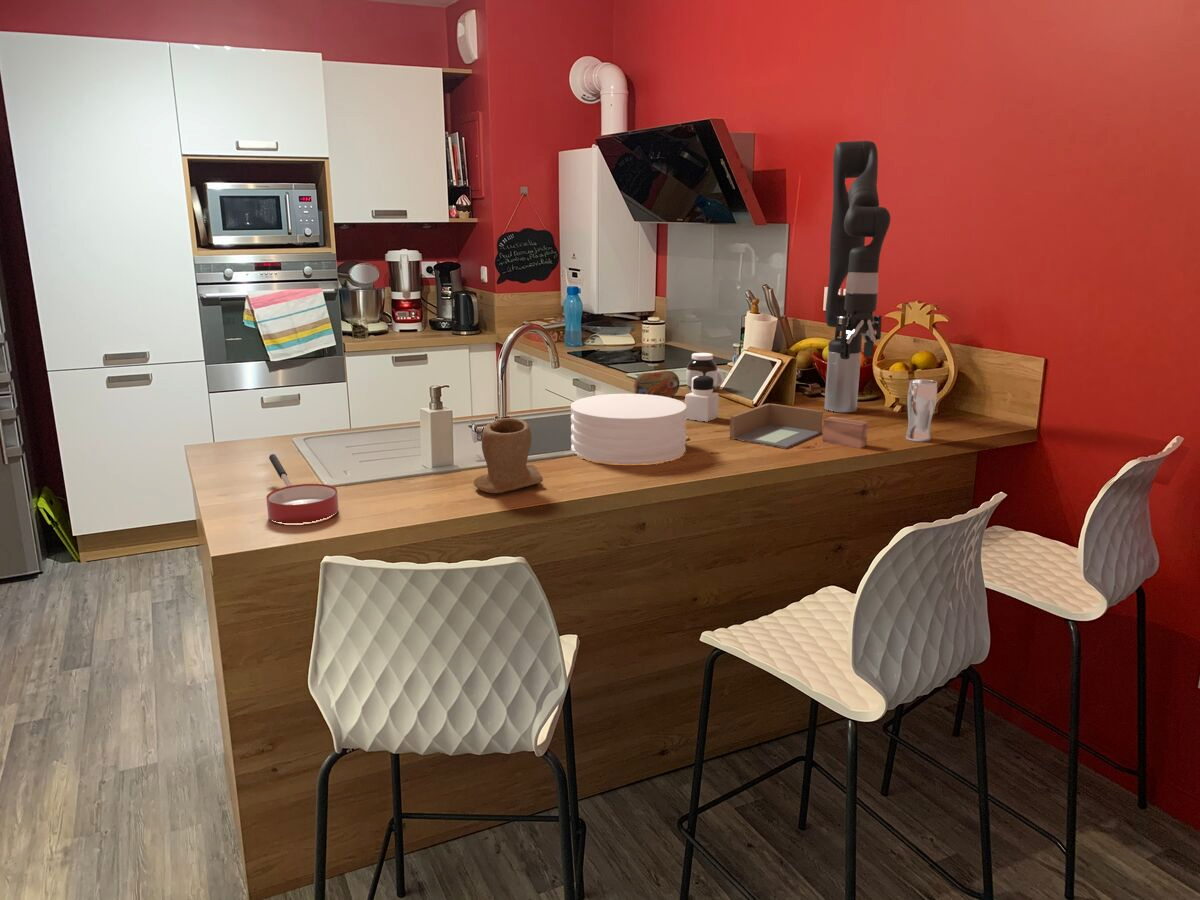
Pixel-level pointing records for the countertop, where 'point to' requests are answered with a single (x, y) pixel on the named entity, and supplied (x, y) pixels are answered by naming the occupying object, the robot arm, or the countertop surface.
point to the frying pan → (300, 500)
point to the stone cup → (507, 457)
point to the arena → (776, 425)
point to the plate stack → (628, 428)
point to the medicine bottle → (702, 400)
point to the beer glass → (920, 408)
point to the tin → (657, 383)
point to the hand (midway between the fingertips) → (856, 358)
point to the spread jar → (703, 369)
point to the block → (845, 432)
